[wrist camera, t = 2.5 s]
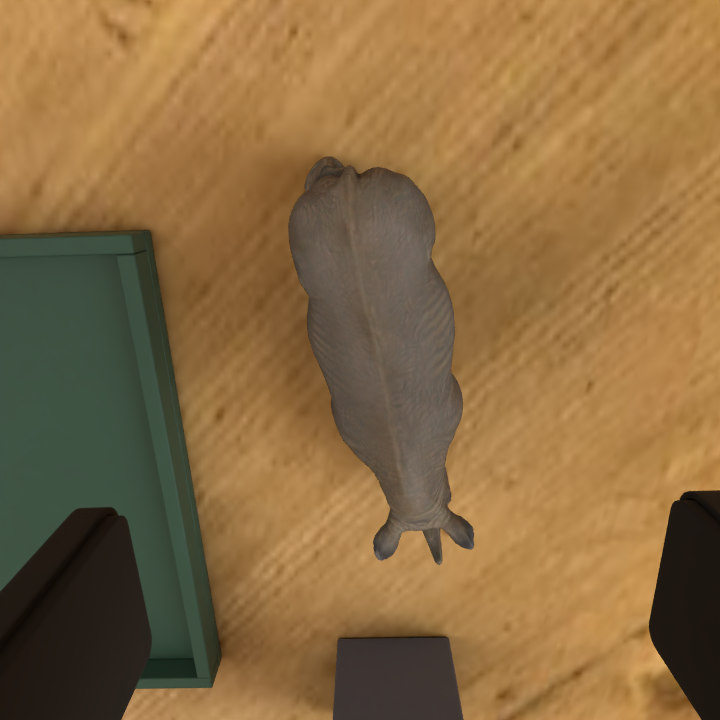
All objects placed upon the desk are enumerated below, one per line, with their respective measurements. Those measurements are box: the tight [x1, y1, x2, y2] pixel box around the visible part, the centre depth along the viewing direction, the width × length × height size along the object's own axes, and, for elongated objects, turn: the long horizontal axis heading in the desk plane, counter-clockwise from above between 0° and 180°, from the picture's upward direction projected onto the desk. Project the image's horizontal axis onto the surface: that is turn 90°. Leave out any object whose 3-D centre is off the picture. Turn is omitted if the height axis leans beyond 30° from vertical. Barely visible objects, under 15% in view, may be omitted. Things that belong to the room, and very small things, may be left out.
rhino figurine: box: [288, 157, 474, 565], centre depth 15 cm, size 4×14×6 cm, turn 12°
